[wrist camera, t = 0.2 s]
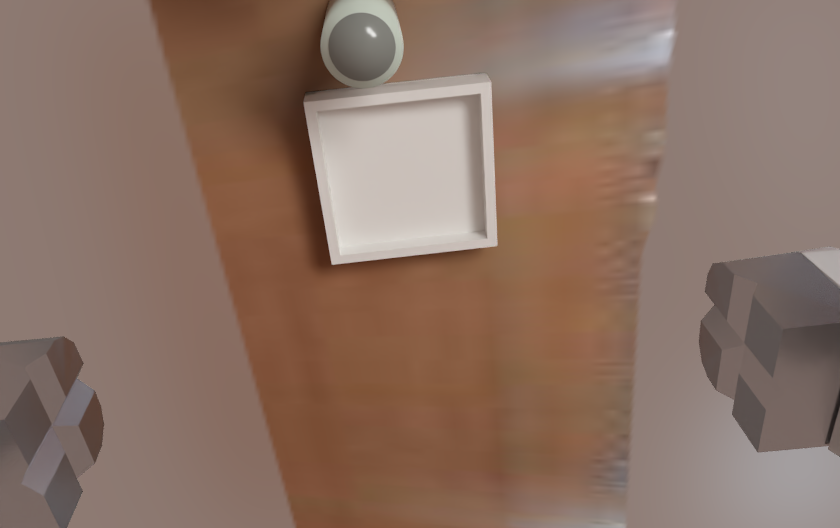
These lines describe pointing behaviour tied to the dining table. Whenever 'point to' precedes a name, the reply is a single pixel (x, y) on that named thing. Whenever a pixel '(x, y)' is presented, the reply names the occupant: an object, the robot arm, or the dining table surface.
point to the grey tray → (405, 167)
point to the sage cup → (361, 41)
